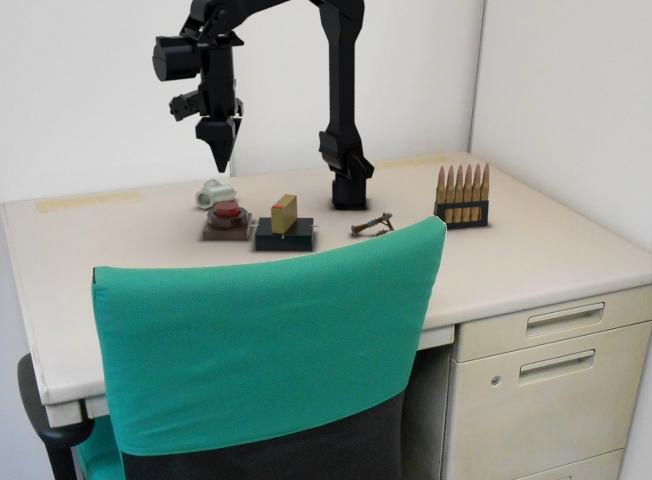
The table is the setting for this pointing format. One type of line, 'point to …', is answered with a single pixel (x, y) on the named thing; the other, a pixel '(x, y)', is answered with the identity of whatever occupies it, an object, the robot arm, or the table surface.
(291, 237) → the dark rectangular block base
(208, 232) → the button housing
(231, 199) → the pipe fitting
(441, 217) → the ammunition clip
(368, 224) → the wooden post with brackets
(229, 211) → the button
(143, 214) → the table surface
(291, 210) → the olive rectangular block
